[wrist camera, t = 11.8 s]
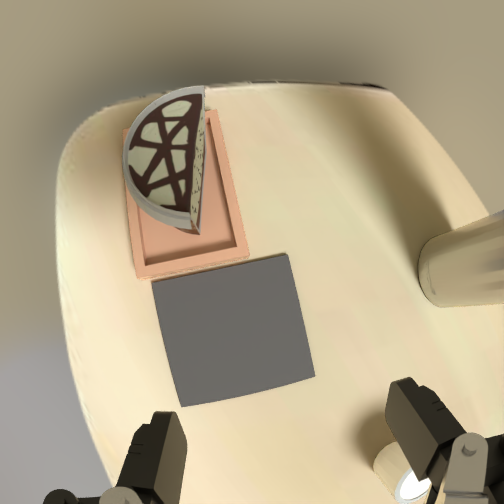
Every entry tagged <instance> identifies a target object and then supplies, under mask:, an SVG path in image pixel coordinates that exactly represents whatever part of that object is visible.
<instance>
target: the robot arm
mask: <svg viewBox="0 0 504 504" xmlns="http://www.w3.org/2000/svg"><path fill="white" fill-rule="evenodd" d="M418 274H419V281H420V284H421V287H422V290H423V292H424V294H425V295H426V297H427V298H428V300H429V301H430V302H432V303H433V304H434V305H436V306H438V307H443V308H447V307H466V306H480V305H493V304H504V210H502V211H500V212H497V213H495V214H493V215H490V216H488V217H485V218H483V219H480V220H478V221H475V222H473V223H470V224H468V225H465V226H463V227H460V228H457V229H455V230H452V231H449V232H447V233H444V234H441V235H439V236H436V237H433V238H432V239H430V240H429V241H428V242H427V243H426V244H425V245H424V247H423V249H422V251H421V254H420V257H419V264H418ZM385 417H386V421H387V424H388V425H389V427H390V429H391V431H392V433H393V435H394V436H395V438H396V440H397V442H398V444H399V446H400V448H401V449H402V451H403V453H404V455H405V457H406V459H407V461H408V463H409V464H410V466H411V468H412V470H413V472H414V474H415V476H416V478H417V480H418V482H420V481H422V480H425V479H427V478H429V480H430V481H431V483H430V485H429V488H428V491H427V495H426V498H425V501H424V504H504V434H501V435H498V436H494V437H490V438H484V437H482V436H481V435H479V434H476V433H467V432H466V431H465V430H464V429H463V427H462V426H461V425H460V424H459V422H458V421H457V420H456V418H455V417H454V416H453V415H452V413H451V412H450V411H449V410H448V408H446V406H445V405H444V403H443V402H442V401H440V398H439V397H438V396H437V395H436V393H435V392H434V391H432V390H431V389H429V388H427V387H425V386H424V385H423V386H420V387H419V386H418V385H417V384H416V382H415V381H414V380H413V379H412V378H411V377H407V378H404V379H401V380H397V381H394V382H392V383H391V384H390V389H389V394H388V399H387V404H386V408H385ZM186 455H187V440H186V437H185V434H184V431H183V429H182V426H181V424H180V421H179V419H178V416H177V414H176V412H161V411H156V412H154V414H153V417H152V420H151V423H150V424H142V426H141V427H140V428H139V429H138V430H137V431H136V432H135V433H134V436H133V439H132V442H131V445H130V447H129V450H128V454H127V456H126V459H125V461H124V464H123V467H122V470H121V473H120V476H119V479H118V482H117V484H116V486H115V487H113V488H110V489H108V490H107V491H105V492H104V493H103V494H102V496H100V497H90V498H76V497H75V496H74V494H73V493H71V492H70V491H67V490H64V489H57V490H54V491H52V492H50V493H49V494H48V495H47V496H46V498H45V499H44V502H43V504H179V500H180V493H181V487H182V480H183V474H184V468H185V461H186Z"/></svg>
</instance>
